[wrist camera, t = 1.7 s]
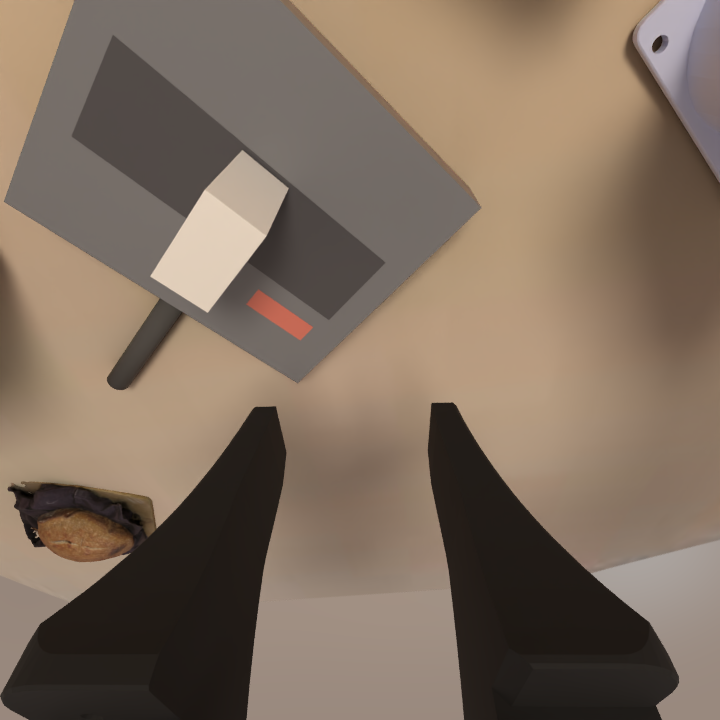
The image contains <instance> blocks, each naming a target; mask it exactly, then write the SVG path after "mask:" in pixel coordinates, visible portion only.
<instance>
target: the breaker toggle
mask: <svg viewBox="0 0 720 720" xmlns="http://www.w3.org/2000/svg"><path fill="white" fill-rule="evenodd" d="M288 189H289V188H288V187H286V186H285V185H284V184H283V183H282V182H280V181H279V180H278V179H277V178H276V177H274V176H273V175H272V174H271V173H270V172H268V171H267V170H266V169H265V168H264V167H262V166H261V165H260V164H259V163H257V162H256V161H255V160H254V159H253V158H251V157H250V156H249V155H248V154H247V153H245V152H244V151H243V150H242V151H241V152H240V153H239V154H238V155H237V156H236V157H235V158H234V159H233V161H232V162H231V163H230V164H229V165H228V166H227V167H226V168H225V169H224V170H223V171H222V172H221V173H220V174H219V175H218V176H217V177H216V178H215V179H214V180H213V182H212V183H211V184H210V185H209V186H208V187H207V188H206V189H205V190H204V192H203V193H202V195H201V197H200V198H199V200H198V201H197V203H196V205H195V206H194V208H193V209H192V211H191V212H190V214H189V216H188V217H187V219H186V220H185V222H184V224H183V225H182V227H181V228H180V230H179V231H178V233H177V235H176V236H175V238H174V239H173V241H172V243H171V244H170V246H169V247H168V249H167V251H166V252H165V254H164V255H163V257H162V258H161V260H160V262H159V263H158V265H157V266H156V268H155V270H154V271H153V273H152V274H151V276H150V277H152V278H153V279H155V280H157V281H158V282H160V283H161V284H163V285H165V286H166V287H168V288H169V289H171V290H172V291H174V292H176V293H177V294H179V295H180V296H182V297H183V298H185V299H187V300H188V301H190V302H191V303H193V304H195V305H196V306H198V307H199V308H201V309H202V310H204V311H206V312H207V313H208V312H209V310H210V309H211V308H212V306H213V305H214V304H215V303H216V301H217V300H218V299H219V297H220V296H221V295H222V293H223V292H224V291H225V290H226V288H227V287H228V286H229V284H230V283H231V282H232V280H233V279H234V278H235V277H236V275H237V274H238V273H239V271H240V270H241V269H242V267H243V266H244V265H245V263H246V262H247V261H248V260H249V258H250V257H251V256H252V254H253V253H254V252H255V250H256V249H257V248H258V247H259V245H260V244H261V243H262V241H263V240H264V239H265V237H266V236H267V234H268V232H269V230H270V228H271V225H272V223H273V221H274V219H275V217H276V215H277V213H278V210H279V208H280V206H281V204H282V202H283V200H284V197H285V195H286V193H287V191H288Z"/></svg>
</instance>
